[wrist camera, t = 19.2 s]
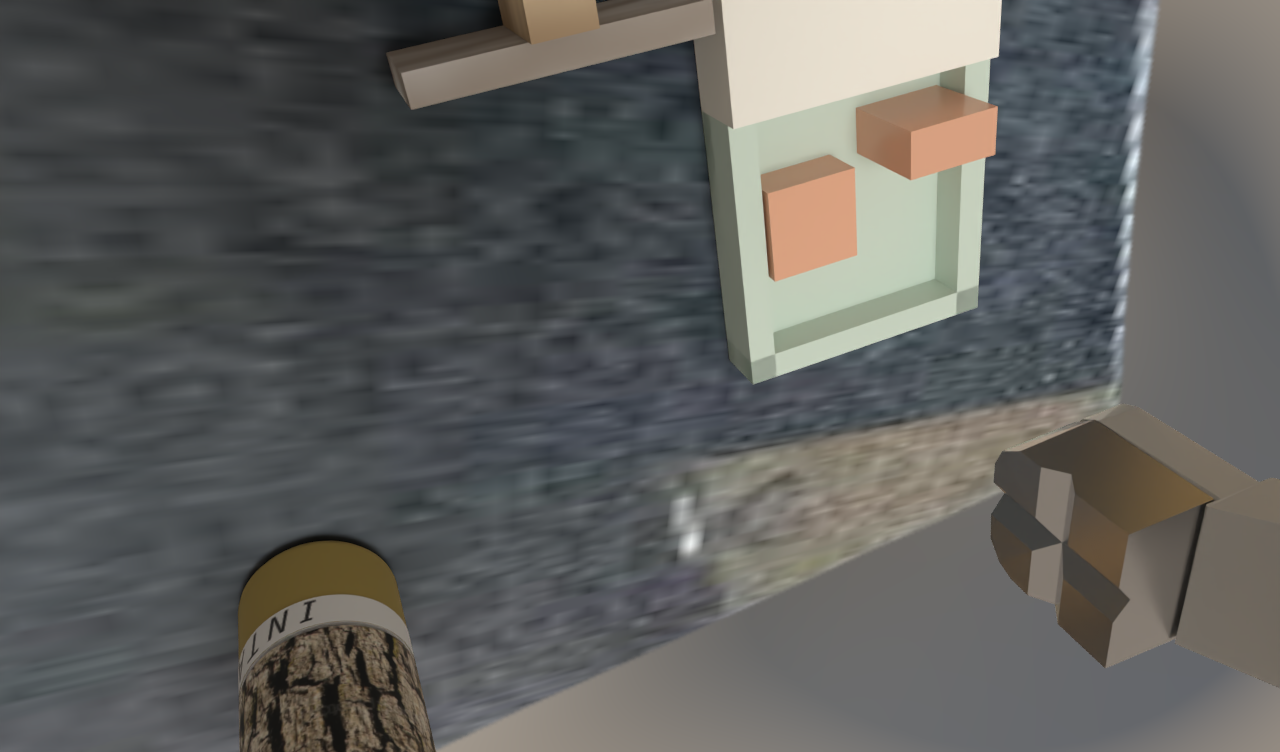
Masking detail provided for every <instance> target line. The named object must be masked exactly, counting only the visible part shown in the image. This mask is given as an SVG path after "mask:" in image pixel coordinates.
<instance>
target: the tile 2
mask: <svg viewBox="0 0 1280 752" xmlns="http://www.w3.org/2000/svg"><path fill="white" fill-rule="evenodd" d="M997 109H998V106H995V105H992V104H989V103H986V102H984V101H981V100H978V99H975V98H972V97H969V96H967V95H964V94H961V93H958V92H955V91H952V90H950V89H947V88H944V87H941V86H938V85H935V86H931V87H927V88H924V89H920V90H917V91H913V92H910V93H906V94H903V95H899V96H896V97H892V98H889V99H885V100H882V101H878V102H874V103H871V104H867V105H864V106H860V107H857V108H856V139H857V153H858V154H860V155H862V156H864V157H865V158H867V159H869V160H871V161H873V162H875V163H877V164H879V165H881V166H883V167H885V168H887V169H889V170H891V171H893V172H895V173H897V174H899V175H901V176H903V177H905V178H907V179H909V180H914V179H917V178H920V177H924V176H927V175H930V174H933V173H937V172H940V171H943V170H946V169H950V168H953V167H956V166H959V165H963V164H966V163H969V162H972V161H976V160H979V159H982V158H986V157H989V156H992V155H995V146H996V128H997Z"/></svg>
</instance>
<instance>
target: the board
mask: <svg viewBox="0 0 1280 752" xmlns="http://www.w3.org/2000/svg"><path fill="white" fill-rule="evenodd" d="M712 3H713V13H714V23H715V33H716V34H713V35H709V36H705V37H701V38H697V39H694V48H695V57H696V66H697V75H698V84H699V93H700V102H701V111H703V112H705V113H706V114H708V115H710V116H711V117H713V118H715V119H717V120H718V121H720V122H722V123H723V124H725V125H727V126H729V127H730V128H732V129H737V128H740V127H744V126H748V125H751V124H755V123H759V122H762V121H766V120H769V119H773V118H777V117H780V116H784V115H788V114H791V113H795V112H799V111H802V110H806V109H809V108H813V107H817V106H820V105H824V104H828V103H831V102H835V101H839V100H842V99H846V98H850V97H853V96H857V95H860V94H864V93H868V92H871V91H875V90H879V89H882V88H886V87H890V86H893V85H897V84H900V83H904V82H908V81H911V80H915V79H919V78H922V77H926V76H930V75H933V74H937V73H940V72H944V71H948V70H951V69H955V68H959V67H962V66H966V65H970V64H973V63H977V62H981V61H984V60H988V59H991V58H995V57H998V56H999V39H1000V21H1001V3H1002V0H712Z"/></svg>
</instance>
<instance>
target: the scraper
mask: <svg viewBox="0 0 1280 752" xmlns="http://www.w3.org/2000/svg"><path fill="white" fill-rule="evenodd" d="M498 3H499V8H500V13H501V17H502V22H503V25H502V26H498V27H494V28H489V29H485V30H481V31H477V32H472V33H468V34H464V35H459V36H455V37H451V38H447V39H442V40H438V41H434V42H430V43H425V44H421V45H417V46H412V47H408V48H404V49H400V50H395V51H391V52H387V53H386V55H387V58H388V62H389V65H390V69H391V72H392V76H393V79H394V83H395V86H396V88H397V90H398V91H399V93H400V94H401V96H402V97H403V98H404V100H405V101H406V103H407V104H408V106H409V107H410V109H411V110H413V109H417V108H421V107H425V106H429V105H433V104H437V103H441V102H445V101H449V100H453V99H457V98H461V97H465V96H469V95H473V94H477V93H481V92H485V91H489V90H493V89H497V88H501V87H505V86H509V85H513V84H517V83H521V82H525V81H529V80H533V79H537V78H541V77H545V76H549V75H553V74H557V73H561V72H565V71H569V70H573V69H577V68H581V67H585V66H589V65H593V64H597V63H601V62H605V61H609V60H613V59H617V58H621V57H625V56H629V55H633V54H637V53H641V52H645V51H649V50H653V49H657V48H661V47H665V46H669V45H673V44H677V43H681V42H685V41H689V40H693V39H697V38H701V37H705V36H709V35H713V34H716V33H715V23H714V13H713V3H712V0H609V1H605V2H600V3H596V0H498Z"/></svg>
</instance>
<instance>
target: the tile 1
mask: <svg viewBox="0 0 1280 752" xmlns="http://www.w3.org/2000/svg"><path fill="white" fill-rule="evenodd" d="M761 187H762V200H763V212H764V224H765V237H766V249H767V262H768V274H769V277H770V278H771V279H772V280H774V281H775V282H776V281H779V280H782V279H785V278H788V277H791V276H794V275H797V274H801V273H804V272H807V271H810V270H813V269H816V268H819V267H822V266H825V265H828V264H832V263H835V262H838V261H841V260H844V259H847V258H850V257H853V256H856V255H857V228H856V193H855V168H854V167H852V166H850V165H849V164H847V163H845V162H843V161H841V160H839V159H837V158H835V157H833V156H832V155H826V156H823V157H819V158H816V159H813V160H809V161H806V162H802V163H799V164H796V165H792V166H789V167H785V168H782V169H779V170H775V171H772V172H768V173H765V174H761Z"/></svg>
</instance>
